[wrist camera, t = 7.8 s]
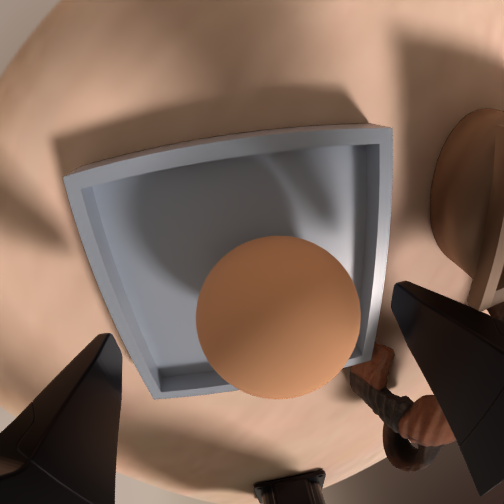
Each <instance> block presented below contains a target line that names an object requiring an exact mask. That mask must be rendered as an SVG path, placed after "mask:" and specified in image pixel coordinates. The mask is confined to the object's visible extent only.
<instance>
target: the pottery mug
mask: <svg viewBox="0 0 504 504" xmlns="http://www.w3.org/2000/svg"><path fill="white" fill-rule="evenodd" d="M487 310H488V312H489V314H490V315H491V316H492V317H495V318H497V319H499V320H502V321H504V301H503V302H501V303H499V304H496V305H494V306H492V307H490V308H488V309H487ZM394 356H395V353H394V351H393V349H391V348H388V347H386V346H384V345H380V344H377V343H376V342H374V348H373V352H372V357H371V360H370V361H367V362H363V363H360V364H356V365H353V366H351V372H350V385H351V387H352V389H353V391H354V392H355V393H357V394H358V395H359V396H360V397H361V398H362V399H363V400H364V401H365V403H366V404H368V406H369V407H370V408H372V410H373V412H374V413H375V414H377V415H379V417H380V418H381V420H382V421H383V422H384V426H383V445H384V450H385V453H386V455H387V458H388V459H389V461H390V462H391V463H392V465H393V466H395V467H396V468H399V469H401V470H403V471H406V472H416V471H420V470H423V469H424V468H426V467H427V466H429V464H431V463H432V462H433V461H434V459H435V458H436V456H437V455H438V453H439V452H440V450H441V448H442V447H443V446H444V445H445V444H448V443H451V442H453V441H456V439H455V437H454V434H453V432H452V430H451V428H450V426H449V424H448V422H447V420H446V418H445V416H444V413H443V411H442V409H441V407H440V405H439V403H438V401H437V399H436V398H435V396H434V395H425V396H422V397H421V398H419V399H418V400H416V401H415V402H413V401H412V400H411V399H410V398H409V397H407V396H403V397H399V396H397V395H394V394H392V393H391V391H389V390H388V389H387V388H386V384H387V376H388V374H389V370H390V367H391V363H392V360H393V358H394ZM408 439H409V440H410V441H411V442H412V443H417V444H418V449H417V448H415V447H413V446H412V445H411V443H410V442H409V440H408Z"/></svg>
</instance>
